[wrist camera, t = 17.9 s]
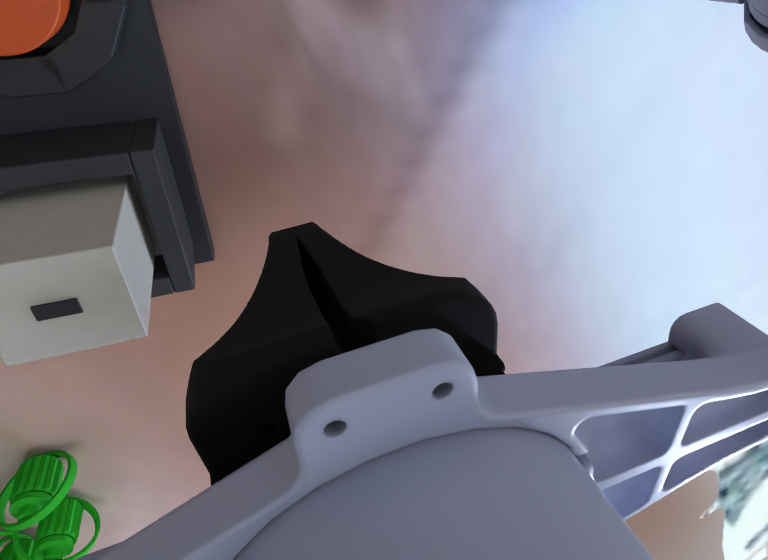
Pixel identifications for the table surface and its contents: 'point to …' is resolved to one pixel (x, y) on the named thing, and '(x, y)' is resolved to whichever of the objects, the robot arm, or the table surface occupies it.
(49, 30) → the power button
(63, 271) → the block
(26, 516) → the chandelier
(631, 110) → the table surface
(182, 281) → the socket
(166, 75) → the adapter
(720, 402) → the robot arm
